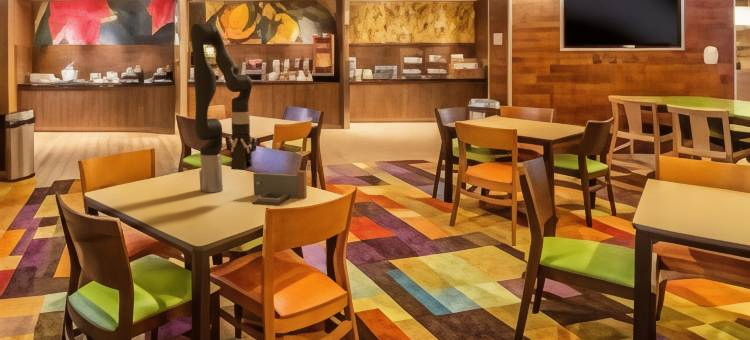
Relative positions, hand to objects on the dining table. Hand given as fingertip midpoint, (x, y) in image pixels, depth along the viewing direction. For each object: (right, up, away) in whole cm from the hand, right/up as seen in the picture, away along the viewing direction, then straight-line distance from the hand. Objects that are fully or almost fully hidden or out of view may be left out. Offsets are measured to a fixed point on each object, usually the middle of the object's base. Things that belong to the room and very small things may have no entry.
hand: (241, 160), depth 268 cm
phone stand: (0, -3, +1) cm, 3 cm away
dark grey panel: (+15, -16, +9) cm, 24 cm away
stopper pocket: (+13, -17, +1) cm, 22 cm away
